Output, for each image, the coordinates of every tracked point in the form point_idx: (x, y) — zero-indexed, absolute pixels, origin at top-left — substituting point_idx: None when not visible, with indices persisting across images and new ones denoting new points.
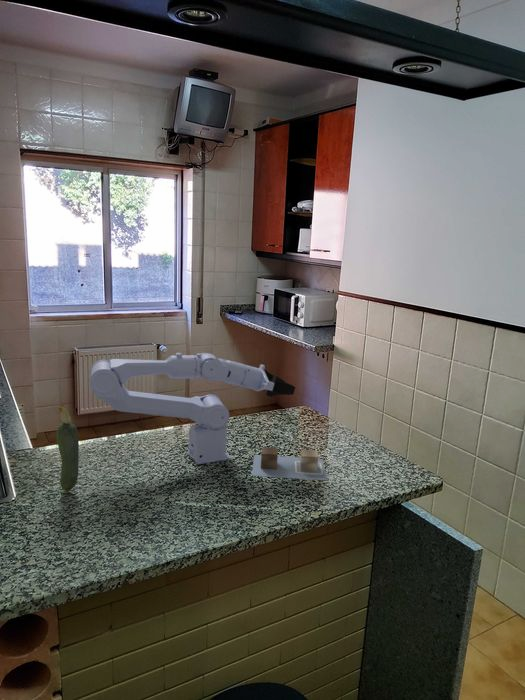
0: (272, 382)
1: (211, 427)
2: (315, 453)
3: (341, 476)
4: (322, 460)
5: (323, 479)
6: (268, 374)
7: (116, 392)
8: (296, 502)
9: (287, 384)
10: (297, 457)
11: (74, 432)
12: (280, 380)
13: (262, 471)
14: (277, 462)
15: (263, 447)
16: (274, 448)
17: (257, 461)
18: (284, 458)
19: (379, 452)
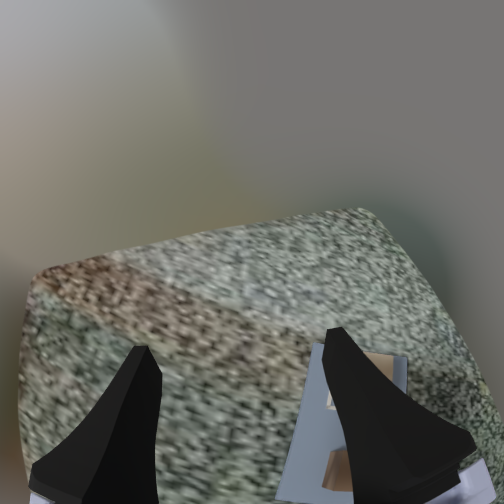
0: (472, 473)
1: None
2: (375, 358)
3: (379, 326)
4: (321, 344)
5: (405, 362)
6: (112, 459)
7: None
8: (464, 416)
9: (378, 373)
10: (303, 397)
11: None
12: (437, 419)
13: None
14: (329, 450)
15: (336, 487)
16: (345, 459)
17: (318, 495)
18: (307, 430)
19: (274, 232)
